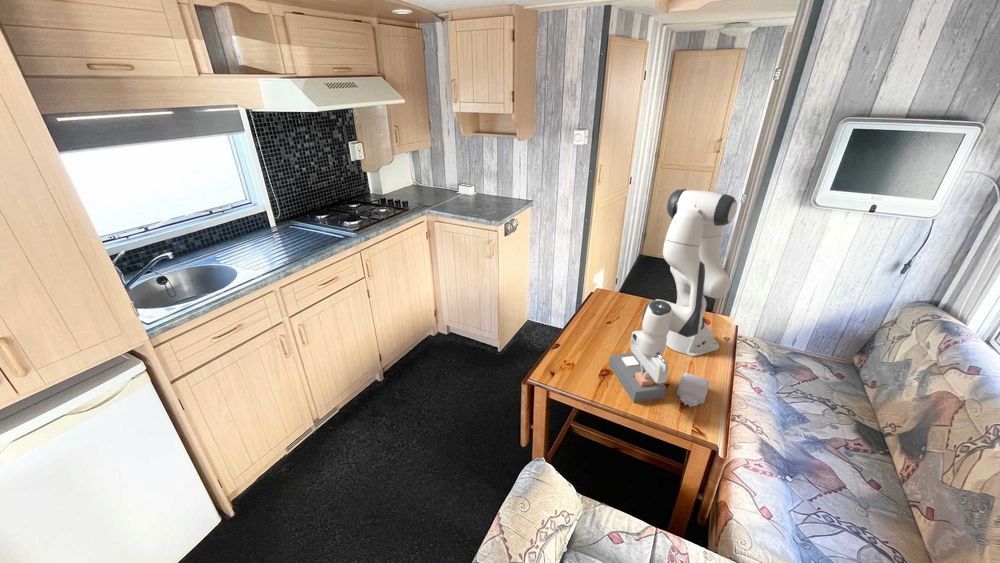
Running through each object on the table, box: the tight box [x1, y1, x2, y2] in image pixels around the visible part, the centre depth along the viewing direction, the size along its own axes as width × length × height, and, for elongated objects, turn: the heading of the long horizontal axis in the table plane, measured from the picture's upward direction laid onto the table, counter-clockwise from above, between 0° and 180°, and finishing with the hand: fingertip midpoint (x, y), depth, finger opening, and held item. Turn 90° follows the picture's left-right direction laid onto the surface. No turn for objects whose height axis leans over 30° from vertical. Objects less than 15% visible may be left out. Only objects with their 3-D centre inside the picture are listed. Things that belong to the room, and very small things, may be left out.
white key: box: [621, 356, 639, 367], centre depth 158 cm, size 5×5×3 cm
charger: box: [676, 372, 710, 408], centre depth 146 cm, size 5×9×15 cm
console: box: [608, 352, 667, 403], centre depth 153 cm, size 12×21×5 cm, turn 11°
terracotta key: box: [635, 372, 655, 387], centre depth 147 cm, size 5×5×3 cm
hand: (644, 375), depth 146 cm, fingers closed
